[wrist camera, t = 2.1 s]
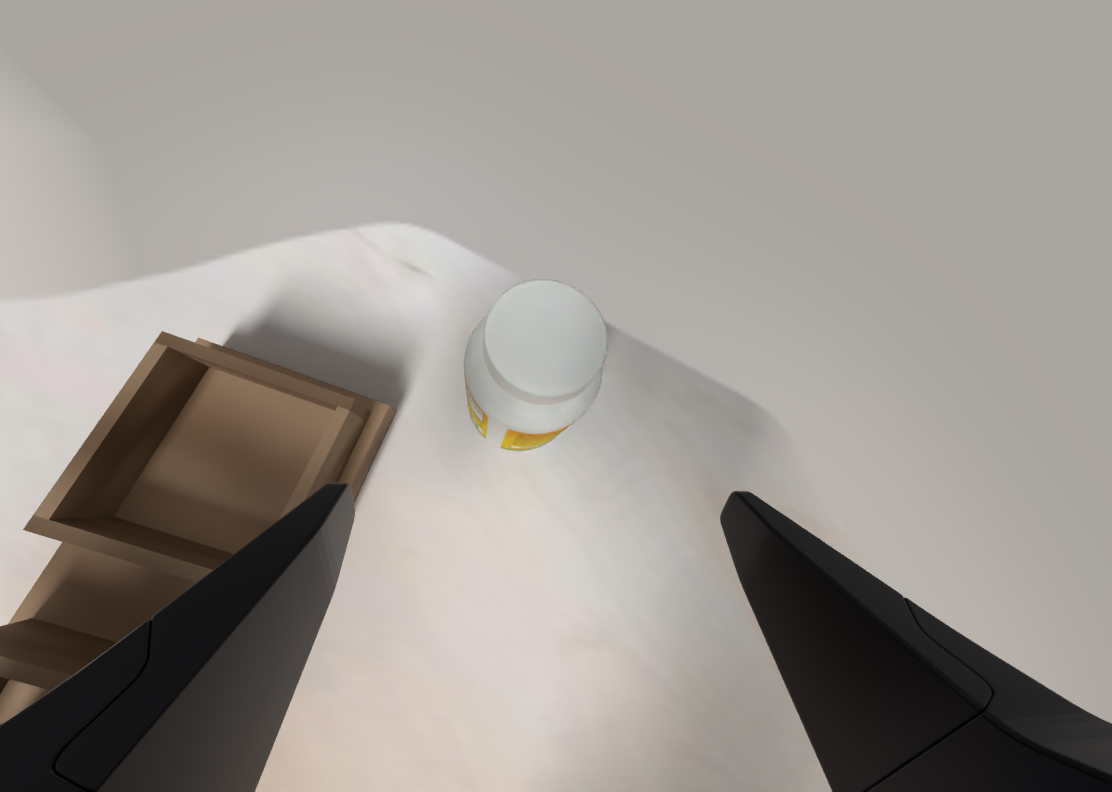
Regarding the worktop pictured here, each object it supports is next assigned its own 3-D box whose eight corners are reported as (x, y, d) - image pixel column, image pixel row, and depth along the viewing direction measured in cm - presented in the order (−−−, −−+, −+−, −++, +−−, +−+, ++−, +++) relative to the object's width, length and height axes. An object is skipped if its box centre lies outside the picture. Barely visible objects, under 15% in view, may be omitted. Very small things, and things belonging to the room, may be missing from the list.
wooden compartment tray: (219, 349, 20) (155, 313, 16) (395, 411, 20) (375, 391, 16) (-109, 861, 14) (-339, 1002, 10) (158, 922, 14) (41, 1074, 11)
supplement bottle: (448, 417, 21) (421, 353, 12) (504, 339, 22) (519, 229, 13) (535, 473, 21) (577, 451, 12) (584, 391, 22) (655, 316, 13)
